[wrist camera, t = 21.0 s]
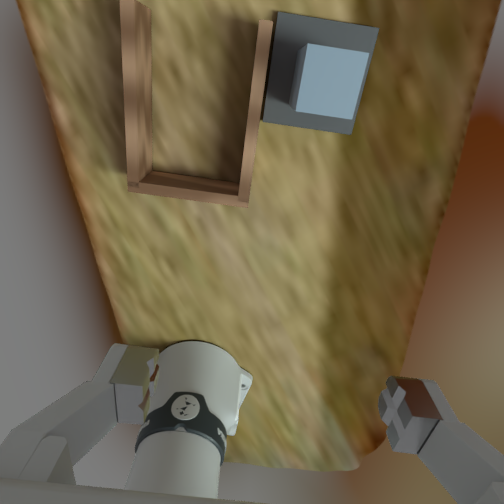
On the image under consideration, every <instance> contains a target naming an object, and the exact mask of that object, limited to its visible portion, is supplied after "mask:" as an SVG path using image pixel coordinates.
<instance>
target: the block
mask: <svg viewBox="0 0 504 504" xmlns="http://www.w3.org/2000/svg"><path fill="white" fill-rule="evenodd" d="M368 57H369V53H366V52H359V51H353V50H347V49H340V48H334V47H328V46H321V45H315V44H309V43H308V44H306V45H305V46H304V47H302V48H301V49H300V50H299V51H298V53H297V59H296V65H295V70H294V76H293V82H292V88H291V94H290V100H289V106H290V107H291V108H293V109H294V110H295V111H297V112H304V113H311V114H317V115H324V116H331V117H338V118H344V119H351V120H352V118H353V115H354V111H355V107H356V103H357V99H358V95H359V91H360V88H361V84H362V80H363V76H364V72H365V68H366V65H367V61H368Z"/></svg>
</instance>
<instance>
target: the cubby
mask: <svg viewBox="0 0 504 504" xmlns="http://www.w3.org/2000/svg"><path fill="white" fill-rule="evenodd" d="M120 22H121V45H122V68H123V90H124V113H125V136H126V159H127V181H128V192H135V193H143V194H150V195H157V196H164V197H172V198H179V199H186V200H194V201H201V202H208V203H215V204H223V205H230V206H237V207H245V208H248V202H249V195H250V187H251V180H252V173H253V165H254V158H255V151H256V144H257V136H258V129H259V122H260V114H261V107H262V100H263V92H264V85H265V78H266V71H267V63H268V56H269V49H270V41H271V34H272V27H273V21H268V20H262V19H259V27H258V36H257V44H256V52H255V61H254V69H253V77H252V86H251V94H250V102H249V110H248V119H247V127H246V135H245V144H244V152H243V160H242V169H241V177H240V183H235V182H228V181H221V180H214V179H207V178H200V177H193V176H186V175H178V174H171V173H164V172H157V171H152V60H151V9H149V8H147V7H146V6H144V5H143V4H141V3H139V2H138V1H136V0H120Z"/></svg>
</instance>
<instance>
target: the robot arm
mask: <svg viewBox="0 0 504 504" xmlns="http://www.w3.org/2000/svg"><path fill="white" fill-rule="evenodd" d="M252 379H253V377H252V375H251V374H250V373H248V372H247V371H245V370H244V369H242V368H241V367H240V366H239V365H238V364H237V362H236V361H235V360H234V358H233V357H232V356H231V355H230V354H229V353H227V352H226V351H225V350H223V349H221V348H219V347H217V346H215V345H212V344H209V343H205V342H198V341H187V342H181V343H177V344H174V345H172V346H170V347H168V348H166V349H165V350H164V351H162V352H161V353H160V354H159V349H155V348H148V347H141V346H134V345H125V344H118V343H114V344H113V345H112V346H111V347H110V349H109V351H108V353H107V355H106V356H105V358H104V360H103V362H102V363H101V365H100V367H99V369H98V371H97V372H96V374H95V376H94V378H93V379H92V381H86V382H85V383H83V384H81V385H80V386H78V387H77V388H75V389H74V390H72V391H71V392H69V393H68V394H66V395H65V396H63V397H61V398H60V399H58V400H57V401H55V402H54V403H52V404H51V405H49V406H48V407H46V408H45V409H43V410H41V411H40V412H38V413H37V414H35V415H34V416H32V417H31V418H29V419H28V420H26V421H24V422H23V423H21V424H20V425H18V426H17V427H16V428H14V429H12V430H11V431H10V433H9V434H8V436H7V437H6V438H5V440H4V441H3V443H2V444H1V445H0V504H265V503H254V502H245V501H235V500H224V499H218V483H219V471H220V467H221V465H222V463H223V460H224V455H225V451H226V437H227V435H231V436H233V435H235V432H236V428H237V424H238V420H239V417H238V414H239V408H240V406H241V404H242V402H243V400H244V398H245V396H246V394H247V392H248V390H249V388H250V386H251V384H252ZM386 385H387V389H385V390H383V391H382V392H381V394H380V396H379V402H378V408H379V413H380V416H381V419H382V421H383V422H384V423H385V424H386V425H387V426H388V428H387V431H386V433H387V436H388V439H389V442H390V444H391V447H392V450H393V451H396V452H404V453H411V454H418V457H419V458H420V459H421V460H422V462H423V463H424V464H425V465H426V466H427V467H428V469H429V470H430V471H431V472H432V473H433V475H434V476H435V477H436V478H437V479H438V481H439V482H440V483H441V484H442V485H443V486H444V488H445V489H446V490H447V491H448V492H449V494H450V495H451V496H452V497H453V498H454V500H455V501H456V502H457V503H458V504H504V455H502V454H501V453H500V452H499V451H498V450H496V449H495V448H494V447H493V446H492V445H490V444H489V443H488V442H487V441H485V440H484V439H483V438H482V437H481V436H479V435H478V434H477V433H476V432H474V431H473V430H472V429H471V428H470V427H468V426H467V425H466V424H465V423H460V422H459V420H458V419H457V417H456V415H455V414H454V412H453V410H452V408H451V407H450V405H449V403H448V402H447V400H446V398H445V396H444V395H443V393H442V391H441V390H440V388H439V386H438V385H437V383H436V382H435V381H433V380H425V379H417V378H407V377H398V376H390V377H389V378H388V379H387V381H386ZM117 422H118V423H130V424H142V426H141V428H140V430H139V433H138V436H137V442H136V445H135V453H136V455H135V458H134V461H133V464H132V467H131V470H130V473H129V476H128V479H127V482H126V485H125V488H124V490H122V489H112V488H102V487H92V486H82V485H76V481H75V477H74V472H73V466H74V465H75V464H76V463H77V462H78V461H79V460H80V459H81V458H82V457H83V456H84V455H85V454H86V453H87V452H89V450H91V449H92V447H94V446H95V445H96V444H97V443H98V442H99V441H100V440H101V439H102V438H103V437H104V436H105V435H106V434H107V433H108V432H109V431H111V429H113V428H114V426H116V425H117Z"/></svg>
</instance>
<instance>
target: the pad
mask: <svg viewBox="0 0 504 504" xmlns="http://www.w3.org/2000/svg"><path fill="white" fill-rule="evenodd" d="M378 31H379V28H375V27H369V26H363V25H357V24H350V23H344V22H338V21H332V20H326V19H320V18H314V17H308V16H301V15H295V14H289V13H283V12H278V16H277V23H276V30H275V37H274V44H273V51H272V58H271V66H270V73H269V80H268V87H267V94H266V101H265V108H264V115H263V122H268V123H275V124H281V125H288V126H295V127H301V128H308V129H315V130H322V131H328V132H335V133H342V134H349V135H351V133H352V129H353V126H354V122H355V118H356V114H357V111H358V107H359V103H360V99H361V95H362V92H363V88H364V84H365V80H366V77H367V73H368V69H369V65H370V61H371V58H372V54H373V50H374V46H375V43H376V39H377V35H378ZM308 43H309V44H315V45H321V46H328V47H334V48H340V49H347V50H353V51H359V52H366V53H369V57H368V61H367V65H366V68H365V72H364V76H363V80H362V84H361V88H360V91H359V95H358V99H357V103H356V107H355V111H354V115H353V118H352V120H351V119H344V118H338V117H331V116H324V115H317V114H311V113H304V112H297V111H295V110H294V109H293V108H291V107H290V106H289V100H290V94H291V88H292V82H293V76H294V70H295V65H296V59H297V53H298V51H299V50H300V49H301V48H302V47H304V46H305V45H306V44H308Z"/></svg>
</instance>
